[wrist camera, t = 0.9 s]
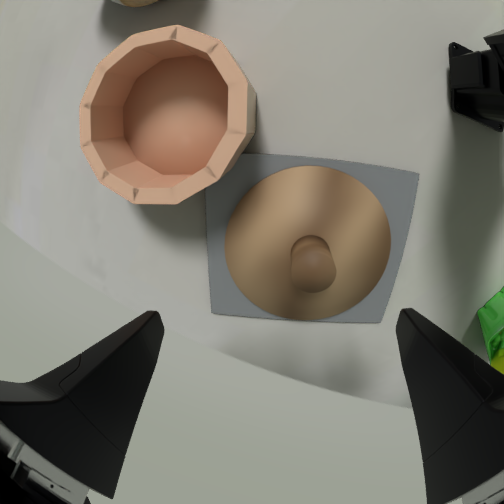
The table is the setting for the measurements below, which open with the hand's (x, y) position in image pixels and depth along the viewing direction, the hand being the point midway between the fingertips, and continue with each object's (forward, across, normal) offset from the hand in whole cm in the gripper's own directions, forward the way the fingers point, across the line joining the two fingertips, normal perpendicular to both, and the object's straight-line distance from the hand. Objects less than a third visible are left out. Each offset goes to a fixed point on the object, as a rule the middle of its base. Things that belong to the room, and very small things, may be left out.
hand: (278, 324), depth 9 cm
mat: (+12, -2, +3) cm, 13 cm away
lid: (+12, -2, +3) cm, 12 cm away
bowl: (+12, +7, -8) cm, 16 cm away
